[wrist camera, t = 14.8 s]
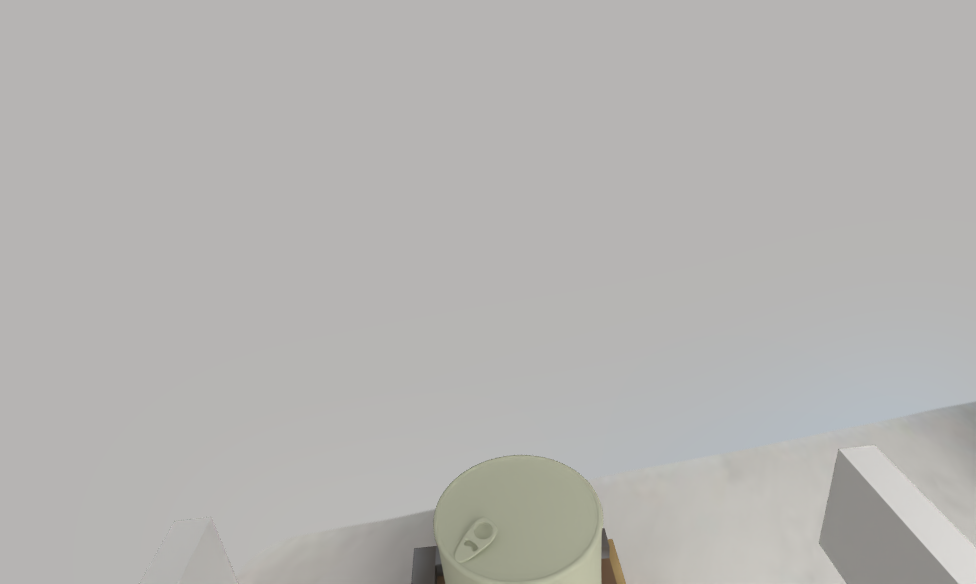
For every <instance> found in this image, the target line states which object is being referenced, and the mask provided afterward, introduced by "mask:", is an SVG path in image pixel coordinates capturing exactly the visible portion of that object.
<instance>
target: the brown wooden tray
mask: <svg viewBox="0 0 976 584" xmlns="http://www.w3.org/2000/svg"><path fill="white" fill-rule="evenodd" d="M411 584H445V579H444V574H443V569H442V564H441V558H440V553H439V549H438V546H433V547H424V548H414V558H413V570H412V583H411ZM601 584H626V582H625V579H624V576H623V573H622V569H621V566H620V563H619V559H618V556H617V553H616V549H615V546H614V543H613V540H612V539H609V540H608V539H607V536H606V532H605V529H604V528H602V540H601Z"/></svg>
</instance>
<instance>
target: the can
mask: <svg viewBox="0 0 976 584" xmlns="http://www.w3.org/2000/svg"><path fill="white" fill-rule="evenodd" d="M433 528H434V536H435V540H436V543H437V546H438V549H439V553H440V558H441V564H442V569H443V574H444V579H445V584H601V540H602V528H603V512H602V507H601V503H600V500H599V498H598V496H597V494H596V492H595V490H594V489H593V487H592V486H591V485H590V483H589V482H588V481H587V480H586V479H584V477H582V476H581V475H580V474H579V473H578V472H576V471H575V470H573V469H572V468H570V467H568V466H566V465H565V464H563V463H560V462H557V461H555V460H552V459H548V458H544V457H539V456H530V455H513V456H504V457H499V458H495V459H491V460H488V461H485V462H483V463H480V464H478V465H475V466H473V467H471V468H470V469H468V470H466V471H465V472H463V473H462V474H461V475H459V476H458V477H457V478H456V479H455V480H454V481H453V482H452V483H451V484H450V485H449V486H448V487H447V489H446V490H445V491H444V492H443V494H442V496H441V497H440V499H439V501H438V504H437V506H436V510H435V514H434V521H433Z"/></svg>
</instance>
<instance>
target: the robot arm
mask: <svg viewBox="0 0 976 584" xmlns="http://www.w3.org/2000/svg"><path fill="white" fill-rule="evenodd" d="M819 544H820V546H821V547H822V549H823V550H824V552H825V553H826V554H827V556H828V557H829V559H830V560H831V562H832V563H833V565H834V566H835V567H836V569H837V570H838V572H839V573H840V575H841V576H842V578H843V579H844V580H845V582H846V583H847V584H976V547H975V546H974V545H973V544H972V543H971V542H970V541H969V540H968V539H967V538H966V537H965V536H964V535H963V534H962V533H961V532H960V531H959V530H958V529H957V528H956V527H955V526H954V525H953V524H952V523H951V522H950V521H949V520H948V519H947V518H946V517H945V516H944V515H943V514H942V512H941V511H940V510H939V509H938V508H937V507H936V506H935V505H934V504H933V503H932V502H931V501H930V500H929V499H928V498H927V497H926V496H925V495H924V494H923V493H922V492H921V491H920V490H919V489H918V488H917V487H916V486H915V485H914V484H913V483H912V482H911V481H910V480H909V479H908V478H907V477H906V476H905V475H904V474H903V473H902V472H901V471H900V470H899V469H898V468H897V467H896V466H895V465H894V464H893V463H892V462H891V461H890V460H889V459H888V458H887V457H886V456H885V455H884V454H883V453H882V452H881V451H880V449H879V448H878V447H877V446H876V445H869V446H860V447H851V448H842V449H838V454H837V458H836V463H835V468H834V473H833V477H832V482H831V487H830V492H829V496H828V501H827V506H826V511H825V516H824V520H823V525H822V530H821V535H820V539H819ZM139 584H239V583H238V581H237V578H236V576H235V574H234V571H233V569H232V566H231V564H230V561H229V559H228V556H227V554H226V552H225V549H224V547H223V544H222V542H221V539H220V537H219V535H218V532H217V530H216V527H215V525H214V522H213V520H212V518H211V517H207V518H198V519H189V520H179V521H174V523H173V525H172V527H171V528H170V530H169V532H168V534H167V535H166V537H165V539H164V541H163V543H162V544H161V546H160V548H159V550H158V551H157V553H156V555H155V557H154V558H153V560H152V562H151V564H150V565H149V567H148V569H147V571H146V573H145V574H144V576H143V578H142V580H141V581H140V583H139Z"/></svg>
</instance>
